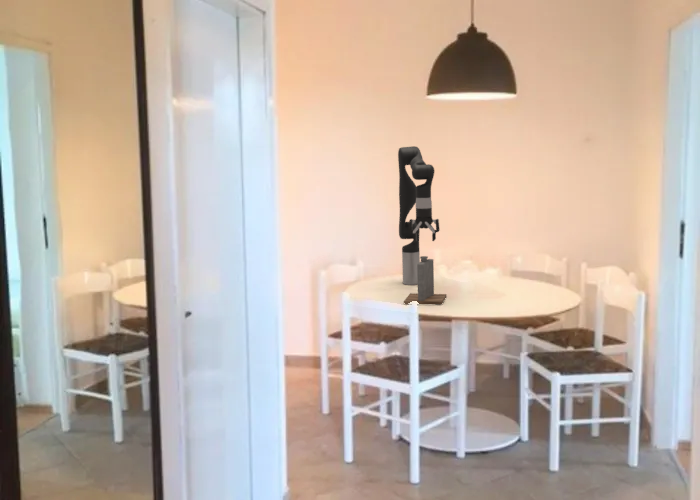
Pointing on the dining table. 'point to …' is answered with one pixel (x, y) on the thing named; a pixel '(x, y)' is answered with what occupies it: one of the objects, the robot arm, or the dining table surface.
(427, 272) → the hip flask
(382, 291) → the dining table surface
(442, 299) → the walnut board
